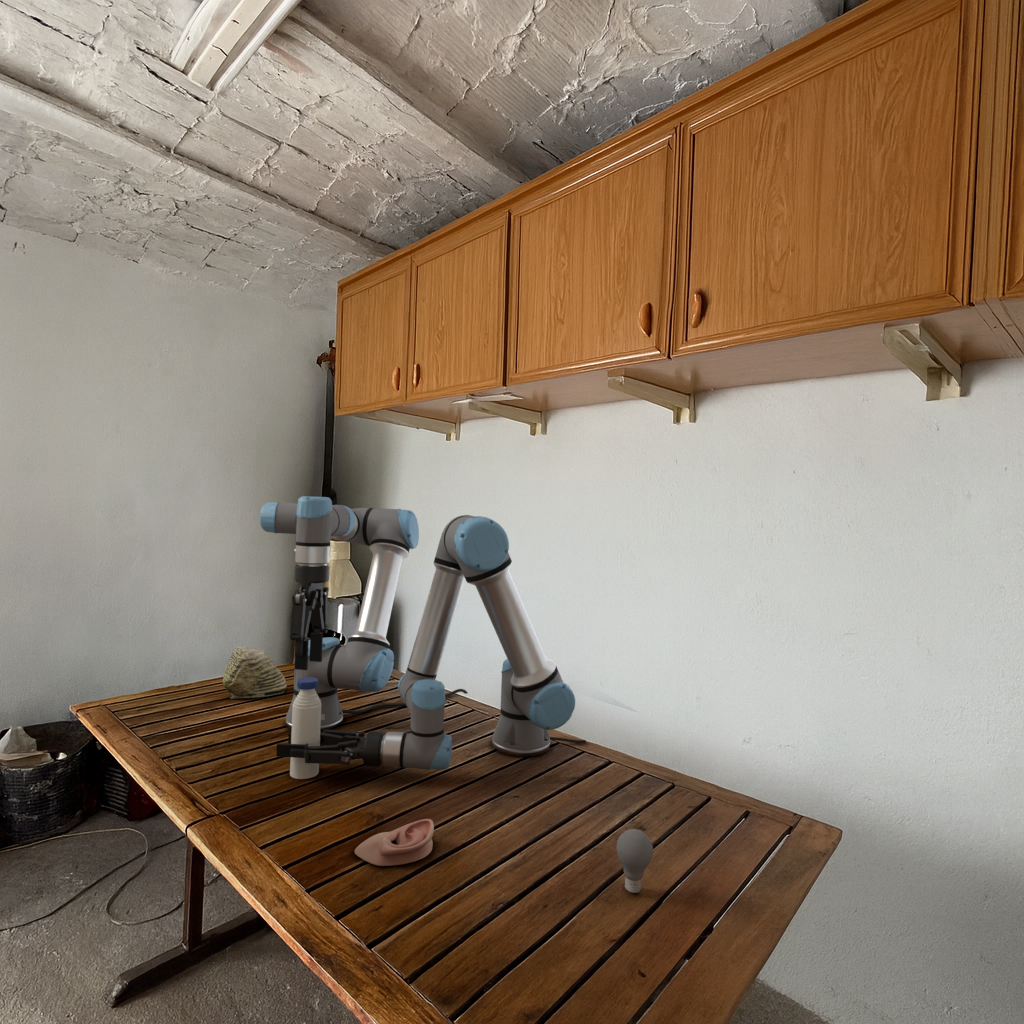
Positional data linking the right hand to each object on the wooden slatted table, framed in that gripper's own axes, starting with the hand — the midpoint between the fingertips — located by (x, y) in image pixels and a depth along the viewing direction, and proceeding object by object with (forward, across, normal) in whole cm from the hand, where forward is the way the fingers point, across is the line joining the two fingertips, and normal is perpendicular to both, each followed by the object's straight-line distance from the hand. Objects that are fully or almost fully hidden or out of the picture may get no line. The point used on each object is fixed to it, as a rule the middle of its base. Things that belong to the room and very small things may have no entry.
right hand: (283, 743), depth 145 cm
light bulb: (-74, -38, -6) cm, 83 cm away
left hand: (-5, 0, +18) cm, 19 cm away
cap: (-5, 0, +15) cm, 16 cm away
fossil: (+29, +53, -6) cm, 61 cm away
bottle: (-5, 0, -6) cm, 8 cm away
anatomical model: (-32, -29, -6) cm, 44 cm away
